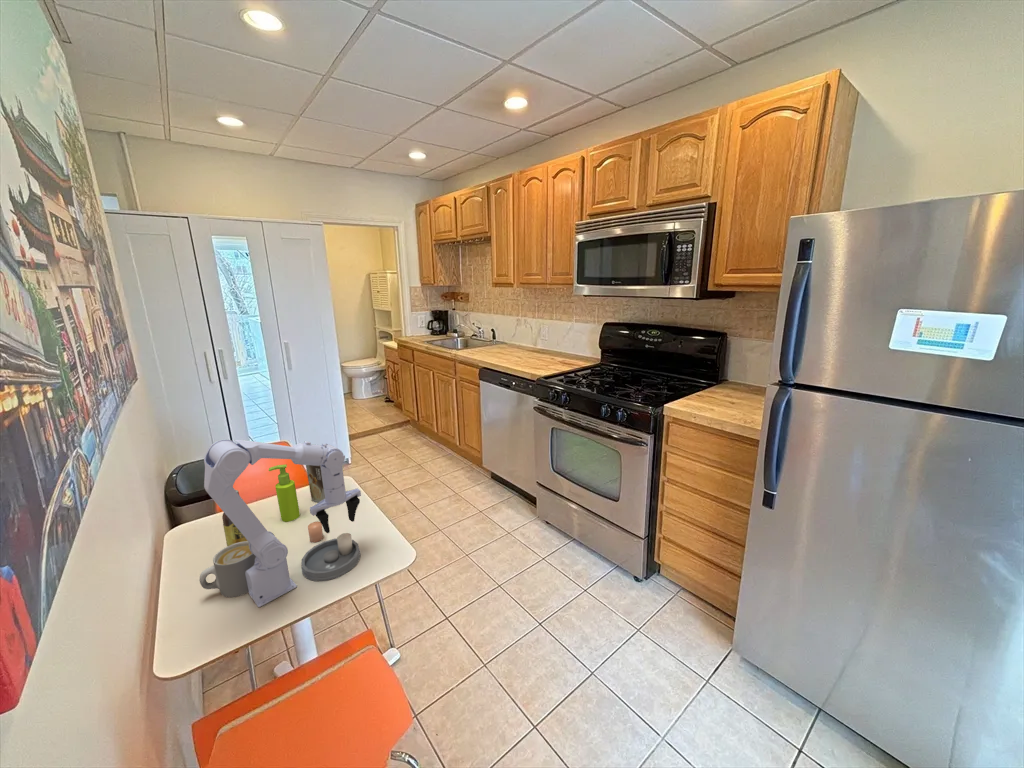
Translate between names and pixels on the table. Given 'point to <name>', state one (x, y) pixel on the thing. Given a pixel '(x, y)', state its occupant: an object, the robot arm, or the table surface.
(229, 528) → the sauce bottle
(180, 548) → the table surface
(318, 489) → the coffee box
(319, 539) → the terracotta bead
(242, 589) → the coffee mug
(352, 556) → the groove tray
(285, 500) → the soap dispenser
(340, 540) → the cream bead
